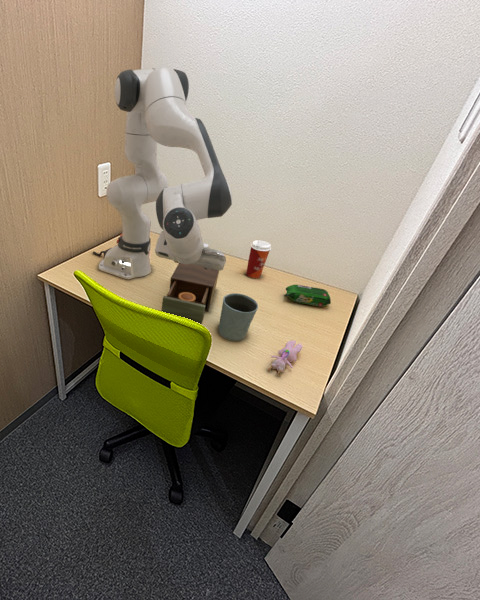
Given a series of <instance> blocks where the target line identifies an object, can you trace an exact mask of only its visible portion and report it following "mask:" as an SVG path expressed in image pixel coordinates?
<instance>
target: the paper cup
mask: <svg viewBox="0 0 480 600" xmlns="http://www.w3.org/2000/svg"><path fill="white" fill-rule="evenodd" d="M271 250H272V244H271V243H270V242H268V241H265V240H260V239H259V240H258V239H257V240H256V239H255V240H253V241H252V243H250V250H249V256H248V261H247V265H246V266H247V267H246V273H245V274H246V276H247V277H248V278H252V279H258V278H260V277H261V275H262V273H263V270H264V268H265V265H266V263H267V259H268V257H269V254H270V251H271Z"/></svg>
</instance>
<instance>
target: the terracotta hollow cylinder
mask: <svg viewBox="0 0 480 600" xmlns="http://www.w3.org/2000/svg"><path fill="white" fill-rule="evenodd" d="M178 299H181V300H185V301H190V302H194V303H195V299H196V297H195V295H194V294H192V293H189V292H183V293H180V294H179V296H178Z"/></svg>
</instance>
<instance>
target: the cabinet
mask: <svg viewBox="0 0 480 600" xmlns="http://www.w3.org/2000/svg"><path fill="white" fill-rule="evenodd" d="M219 274H220V271H219V270H214V269H209V270H207V269H204V267H201V266H197V265H192V264H182V263H177V266H176V267H175V269H174V271H173V273H172V274H171V276H170V279H169V281H170V282H169V289H168V291H169V290H170V288H171V286H172V284H173V282H174V281H179V282H184V283H189V284H194V285H199V286H203V287H208V288H210V289H209V294H208V299H207V304H206V307H205V311H204V312H207V313H209V311H210V308H211V304H212V301H213V299H214V295H215V293H216V288H217V283H218V279H219Z"/></svg>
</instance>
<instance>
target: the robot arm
mask: <svg viewBox="0 0 480 600" xmlns="http://www.w3.org/2000/svg"><path fill="white" fill-rule="evenodd" d="M113 88H114V90H113V92H114V93H113V94H114V95H113V96H114V100H115V103H116V106H117V107H118V109H119V110H120V111H123V112H126V118H125V128H124V129H125V130H124V156H125V158H126V160H127V161H128V162H129V163H131V164H132V165H134V170H135V171H134V174H130V175H125V176H120V177H118V178H116V179H114V180H111V181H110V182H109V183H108V185H107V187H106V193H105V194H106V195H105V196H106V198H107V201H108V203H109V205H110V206H111V207H112V208H114V209H115V210H116V211H117V212H118V214H119V216H120V219H121V226H122V227H121V229H122V231H121V234H120V235H119V236H118V237H117V240H116V242H115V243H116V245H114V246H112V247H110V248H107V249H106V250H101V251H100V252H99V253H98V252H96V251H92V254H93V255H96V256H98V257H100V256H102V254H103V258H102V259H101V261H100V262H99V264H98V270H99V271H100V272H103V273H107V274H110V275H113V276H115V277H119V278H122V279H124V280H131V279H134V278H135V279H136V278H142V277H145V276H147V275H149V274H150V273H151V272H152V266H151V259H150V252H151V239H152V238H151V219H150V217H149V216H148V215H147V214H145V213H143V212H142V205H146V204H151V203H154V202H155V213H156V219H157V222H158V225H159V228H160V229H161V230H163V231H160V233H159V235H158V238H157V241H156V244H155V248H154V253H155V255H156V257H158V258H162V259H166V260H171V261H173V262H174V263H177V264H179V263H182V264H192V265H197V266H201V267H204V269H207V270H209V269H214V270H219V272H220V271H223V270H224V268H225V265H226V262H227V259H226V258H227V257H226V255H225V253H224V252H223V251H222V250H218V249H214V248H210V247H209V248H205V247H204V245H203V243H204V240H203V236H202V232H201V227H200V224H199V222H198V221H199V220H203V219H213V218H221V217H223V216H224V215H225V214H226V213H227V212H228V211H229V210H230V208H232V205H233V192H232V188H231V186H230V184H229V182H228V180H227V179H226V176H225V174H224V172H223V169H222V167H221V164H220V162H219V159H218V156H217V153H216V151H215V149H214V145H213V143H212V140H211V138H210V135H209V133H208V130H207V128H206V126H205V124H204V122H203V121H202V119H201V118H199V117H198V118H197V117H194V116H193V115H192V114H191V113H190V112H189V110H188V106H187V100H188V97H189V90H190V81H189V78H188V76H187V73H186V72H185V71H183V70H180V69H175V68H172V67H169V66H161V67H152V68H142V69H141V68H139V69H134V70H133V69H131V68H130V69H127V70H122V71H120V73H118V75H117V77H116V80H115V83H114V87H113ZM158 145H160V146H161V145H162V146H164V147H168V148H182V149H187V150H190V151H192V152H194V153H195V154H196V155H197V157H198V160H199V162H200V165H201V168H202V170H203V172H204V177H203V178H201V179H198V180H192V181H189V182H186V183H179V184H175V185H172V186H169V180H168V178H167V176H166V175H165V174H164V172H162V170H161V169H160V166H159V163H158V153H157V152H158Z"/></svg>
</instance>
